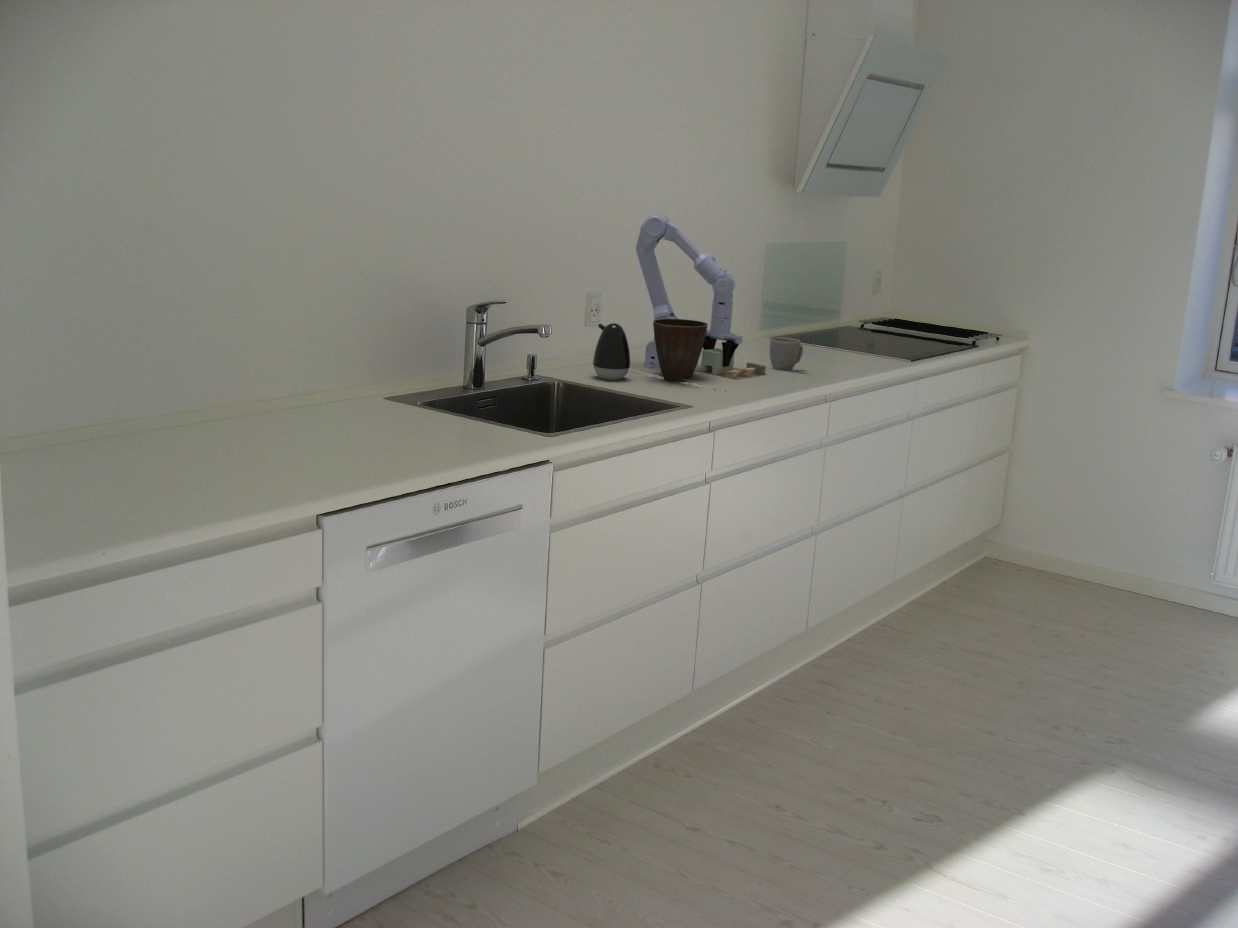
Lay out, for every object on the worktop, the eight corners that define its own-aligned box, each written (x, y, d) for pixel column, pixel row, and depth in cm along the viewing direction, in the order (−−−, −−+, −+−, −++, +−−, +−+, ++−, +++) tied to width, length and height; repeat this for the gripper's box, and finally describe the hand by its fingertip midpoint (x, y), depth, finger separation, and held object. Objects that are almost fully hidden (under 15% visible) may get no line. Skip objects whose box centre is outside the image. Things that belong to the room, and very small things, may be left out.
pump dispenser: (607, 373, 314) (611, 319, 310) (636, 379, 308) (640, 324, 304) (583, 377, 306) (586, 321, 303) (613, 383, 300) (616, 327, 296)
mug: (782, 375, 328) (786, 342, 326) (761, 370, 335) (764, 338, 332) (810, 372, 336) (814, 340, 333) (789, 367, 342) (792, 336, 340)
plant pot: (658, 385, 302) (662, 326, 298) (642, 374, 316) (646, 318, 312) (710, 385, 306) (715, 327, 302) (692, 375, 320) (697, 319, 316)
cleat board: (735, 383, 312) (736, 370, 311) (693, 374, 321) (694, 362, 320) (767, 378, 322) (768, 366, 321) (725, 369, 332) (726, 357, 331)
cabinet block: (715, 374, 318) (717, 353, 316) (700, 371, 321) (702, 350, 320) (732, 371, 323) (734, 351, 322) (717, 368, 327) (719, 348, 325)
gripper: (750, 320, 317) (746, 367, 320) (709, 313, 326) (706, 359, 329) (735, 321, 311) (731, 369, 315) (694, 314, 321) (691, 361, 324)
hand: (717, 364), depth 322 cm, fingers closed on cabinet block, 5 cm apart
